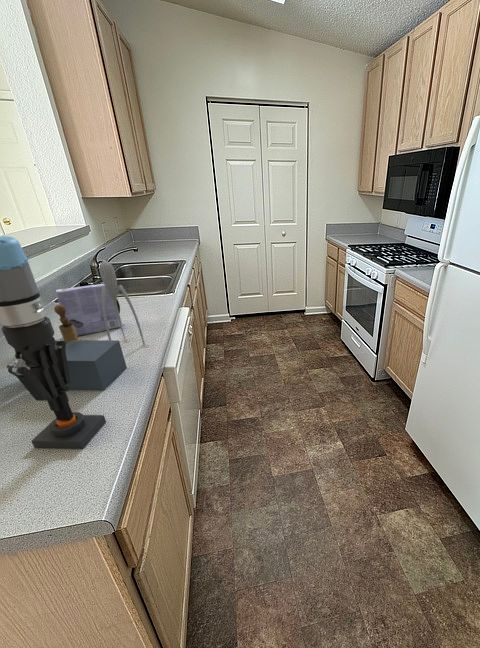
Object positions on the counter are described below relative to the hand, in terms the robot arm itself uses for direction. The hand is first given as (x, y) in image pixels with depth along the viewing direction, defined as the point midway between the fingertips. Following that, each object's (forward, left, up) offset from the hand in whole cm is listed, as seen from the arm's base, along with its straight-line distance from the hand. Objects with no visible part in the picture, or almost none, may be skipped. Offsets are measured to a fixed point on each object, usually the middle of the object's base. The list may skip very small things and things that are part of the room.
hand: (65, 418), depth 74 cm
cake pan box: (-29, +59, -5) cm, 66 cm away
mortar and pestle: (-24, +38, -5) cm, 45 cm away
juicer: (-9, +46, -5) cm, 47 cm away
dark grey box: (-10, +24, -5) cm, 26 cm away
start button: (0, 0, -2) cm, 2 cm away
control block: (0, 0, -5) cm, 5 cm away
